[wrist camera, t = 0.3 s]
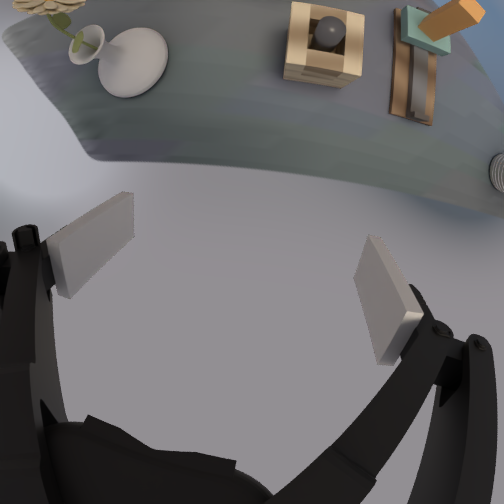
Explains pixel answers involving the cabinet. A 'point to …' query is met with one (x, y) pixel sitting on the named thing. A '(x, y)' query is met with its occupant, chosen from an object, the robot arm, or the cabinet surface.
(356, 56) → the tan hollow wooden box
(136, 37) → the flower in vase
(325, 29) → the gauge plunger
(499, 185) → the water bottle
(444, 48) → the block
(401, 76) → the rail board
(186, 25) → the cabinet surface
